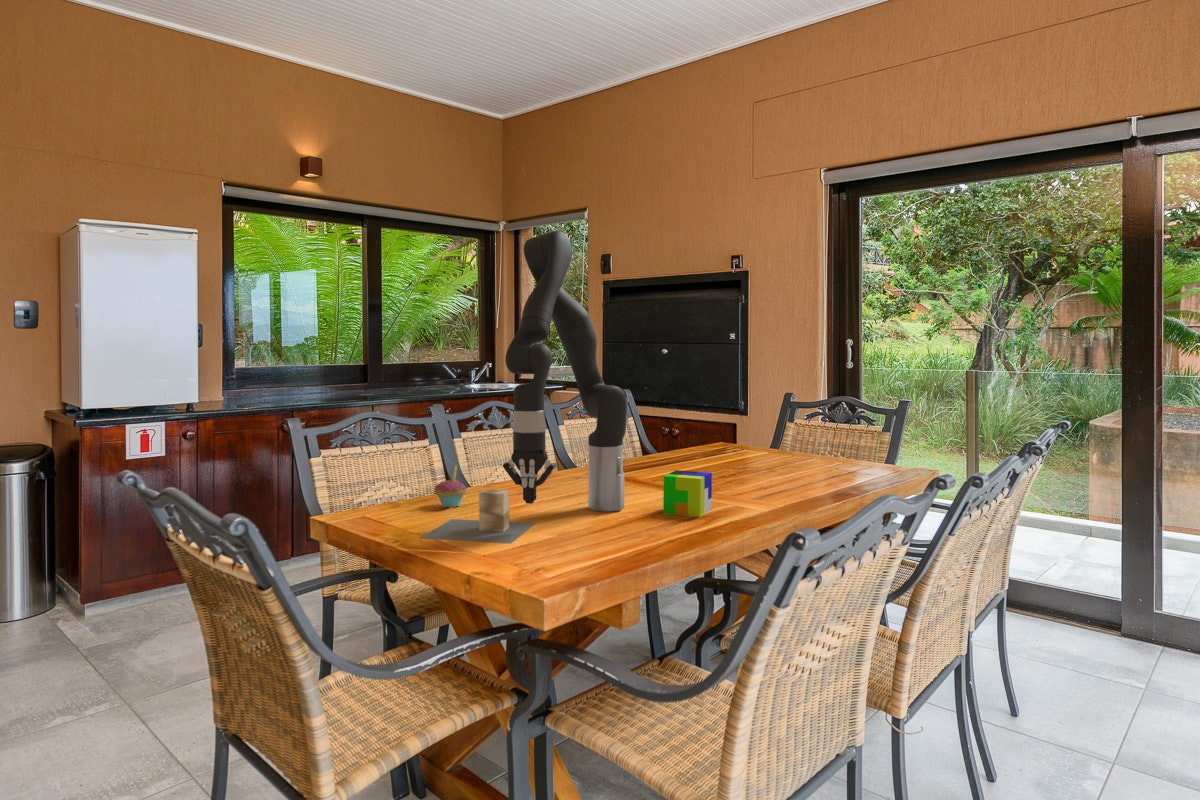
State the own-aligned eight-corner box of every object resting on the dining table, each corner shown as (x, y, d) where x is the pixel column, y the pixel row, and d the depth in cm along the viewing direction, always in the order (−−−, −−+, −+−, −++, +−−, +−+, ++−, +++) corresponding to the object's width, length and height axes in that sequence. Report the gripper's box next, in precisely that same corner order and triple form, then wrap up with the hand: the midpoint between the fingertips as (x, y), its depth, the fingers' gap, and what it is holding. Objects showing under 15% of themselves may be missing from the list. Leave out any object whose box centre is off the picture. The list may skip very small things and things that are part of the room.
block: (509, 527, 184) (509, 490, 183) (503, 531, 180) (503, 493, 179) (485, 526, 185) (485, 489, 184) (479, 530, 181) (479, 492, 180)
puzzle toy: (711, 509, 205) (711, 472, 204) (700, 517, 196) (700, 478, 195) (676, 506, 209) (676, 470, 208) (663, 513, 200) (663, 475, 199)
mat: (535, 524, 188) (535, 523, 188) (510, 544, 169) (510, 543, 169) (451, 520, 193) (451, 519, 193) (418, 539, 174) (418, 537, 174)
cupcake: (472, 504, 212) (471, 461, 211) (456, 510, 204) (455, 465, 203) (444, 502, 215) (444, 459, 214) (428, 508, 207) (427, 464, 206)
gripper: (560, 428, 181) (561, 500, 182) (507, 427, 184) (508, 498, 185) (552, 432, 174) (552, 507, 175) (496, 430, 176) (497, 504, 178)
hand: (529, 502), depth 180 cm, fingers closed
